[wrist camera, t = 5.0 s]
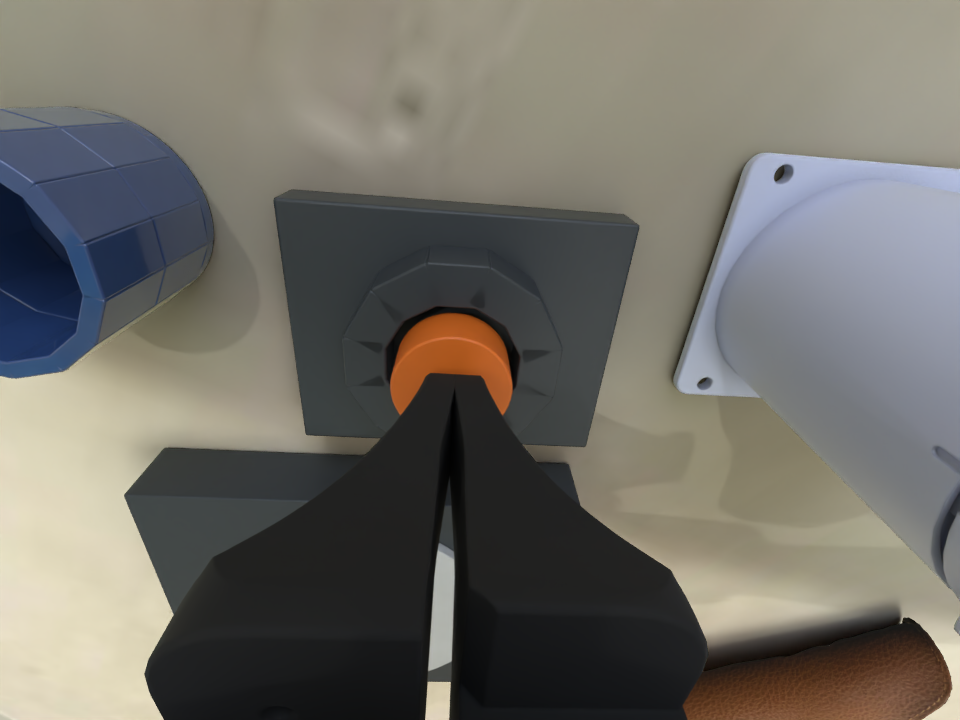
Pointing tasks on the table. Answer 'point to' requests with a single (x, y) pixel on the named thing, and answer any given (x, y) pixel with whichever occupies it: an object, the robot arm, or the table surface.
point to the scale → (263, 517)
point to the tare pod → (450, 301)
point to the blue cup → (89, 233)
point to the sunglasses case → (831, 681)
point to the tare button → (451, 357)
